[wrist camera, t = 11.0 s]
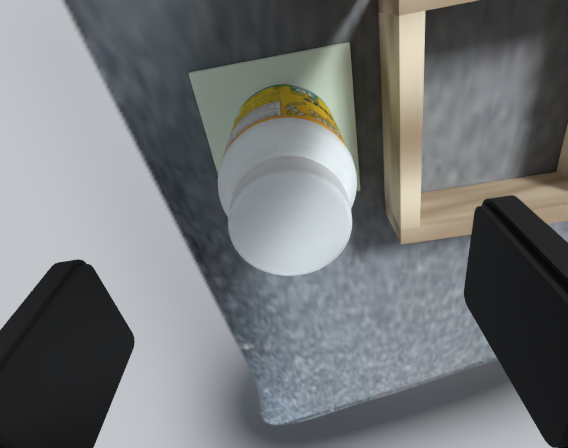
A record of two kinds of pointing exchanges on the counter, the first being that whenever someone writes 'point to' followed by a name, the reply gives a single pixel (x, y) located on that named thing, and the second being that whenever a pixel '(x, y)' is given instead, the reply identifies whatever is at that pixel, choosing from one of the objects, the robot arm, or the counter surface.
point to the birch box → (408, 142)
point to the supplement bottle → (287, 182)
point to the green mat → (277, 69)
